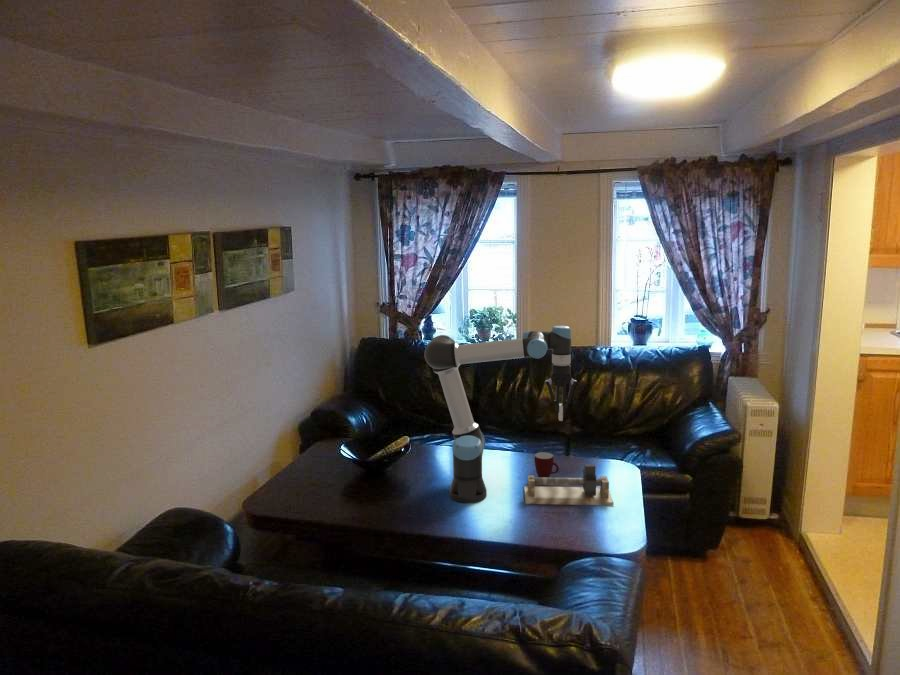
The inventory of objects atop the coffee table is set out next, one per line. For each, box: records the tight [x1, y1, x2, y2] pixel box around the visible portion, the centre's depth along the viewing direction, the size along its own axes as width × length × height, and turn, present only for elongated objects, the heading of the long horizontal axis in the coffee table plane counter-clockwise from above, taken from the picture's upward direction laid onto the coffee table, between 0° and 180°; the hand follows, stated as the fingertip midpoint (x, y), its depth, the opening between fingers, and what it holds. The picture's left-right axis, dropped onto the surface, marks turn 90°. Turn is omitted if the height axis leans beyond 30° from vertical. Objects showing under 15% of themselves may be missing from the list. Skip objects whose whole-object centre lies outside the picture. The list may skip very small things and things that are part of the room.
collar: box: [582, 463, 597, 496], centre depth 253 cm, size 4×8×11 cm, turn 175°
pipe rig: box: [523, 474, 614, 506], centre depth 254 cm, size 34×14×8 cm, turn 85°
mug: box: [534, 451, 560, 478], centre depth 273 cm, size 10×8×10 cm
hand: (560, 419), depth 262 cm, fingers closed
